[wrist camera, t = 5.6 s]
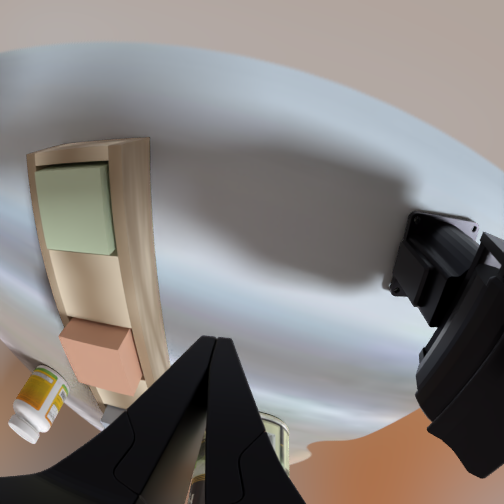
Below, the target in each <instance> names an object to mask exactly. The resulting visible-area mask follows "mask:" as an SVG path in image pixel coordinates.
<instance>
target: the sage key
mask: <svg viewBox="0 0 504 504" xmlns="http://www.w3.org/2000/svg"><path fill="white" fill-rule="evenodd" d="M35 181H36V189H37V196H38V203H39V210H40V216H41V221H42V227H43V232H44V237H45V242H46V246H47V249H53V250H62V251H72V252H82V253H92V254H103V255H110V254H111V253H112V252H113V251H114V250H115V249H116V248H117V246H116V239H115V231H114V222H113V213H112V203H111V192H110V178H109V160H106V161H88V162H73V163H61V164H55V165H52V166H50V167H47V168H44V169H42V170H39V171H37V172H35Z"/></svg>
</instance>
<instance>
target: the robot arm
mask: <svg viewBox="0 0 504 504" xmlns="http://www.w3.org/2000/svg"><path fill="white" fill-rule="evenodd" d="M415 217H418V219H417V221H416V222H414V219H415ZM473 226H474V228H473ZM472 228H473V230H472ZM478 230H479V225H478V224H477V223H476V222H474V221H471V220H465V219H460V218H454V217H448V216H442V215H436V214H430V213H424V212H418V211H414V212H412V213H411V214H410V215H409V218H408V222H407V226H406V231H405V235H404V239H403V240H402V242H401V243H400V247H399V251H398V255H397V258H396V262H395V265H394V269H393V278H392V282H391V285H390V289H389V290H390V292H391V294H392V295H393V296H403V297H408V298H409V300H410V301H411V303H412V305H413V306H414V307H418V308H419V310H420V312H421V313H422V315H423V316H424V318H425V320H426V321H427V323H428V325H429V326H430V327H438V328H437V330H436V331H435V333H434V334H433V336H432V338H431V339H430V341H429V342H428V344H427V346H426V347H424V348H423V349H422V351H421V352H420V354H419V363H420V364H419V366H418V370H417V373H416V381H417V389H418V391H417V392H416V394H415V397H416V399H417V401H418V403H419V406H420V408H421V409H422V411H423V412H424V414H425V415H426V416H427V418H428V419H429V420H430V421H431V422H432V423H431V424H430V425H429V426H428V427H427V431H428V432H429V433H431V434H433V435H434V436H436V437H438V438H440V439H441V440H443V442H445V443H446V444H447V445H448V446H449V447H450V448H451V449H452V450H453V451H454V452H455V454H456V455H457V456H458V458H459V459H460V461H461V462H462V464H463V465H464V467H465V468H466V470H467V471H468V472H469V473H471V474H473V475H475V476H477V477H479V478H486V477H487V476H489V475H490V474H491V473H493V472H494V471H495V470H497V469H498V468H499V467H500V466H502V465H503V464H504V240H502V239H500V238H498V237H495V236H493V235H491V234H488V233H486V232H483V234H482V236H481V239H480V241H481V243H480V245H479V244H478V243H477V242H476V241H475V240H476V237H477V234H478ZM396 288H398V289H397V290H395V289H396ZM394 290H395V291H394ZM205 428H206V446H205V504H306V503H305V501H304V500H303V498H302V497H301V495H300V494H299V492H298V491H297V489H296V488H295V486H294V485H293V483H292V482H291V480H290V478H289V477H288V475H287V473H286V471H285V470H284V468H283V466H282V464H281V462H280V461H279V459H278V456H277V454H276V452H275V450H274V448H273V446H272V443H271V441H270V438H269V436H268V433H267V432H266V429H265V426H264V424H263V421H262V419H261V416H260V413H259V411H258V408H257V406H256V403H255V400H254V398H253V395H252V392H251V390H250V387H249V384H248V382H247V379H246V376H245V373H244V371H243V368H242V365H241V362H240V360H239V357H238V354H237V351H236V348H235V346H234V343H233V340H232V339H231V338H225V337H218V338H216V337H214V336H206V335H203V336H201V337H200V338H199V339H198V340H197V341H196V342H195V343H194V344H193V345H192V346H191V347H190V348H189V349H188V350H187V351H186V352H185V353H184V354H183V355H182V356H181V357H180V358H179V359H178V360H177V361H176V362H175V363H174V364H173V365H172V366H171V367H170V368H169V369H167V370H166V371H165V372H164V373H163V374H162V375H161V376H160V377H159V378H158V379H157V380H156V381H155V382H154V383H153V384H152V385H151V386H150V387H149V388H148V389H147V390H146V391H145V392H144V393H143V394H142V395H141V396H140V397H139V398H138V399H137V400H136V401H134V402H133V403H132V404H131V405H130V406H129V407H128V408H127V411H124V412H123V413H122V414H121V415H120V416H119V417H118V418H116V419H115V420H114V421H113V422H112V423H111V424H110V425H109V426H107V427H106V428H105V429H104V430H103V431H102V432H101V433H99V434H98V435H96V436H95V437H94V438H92V439H91V440H90V441H89V442H87V443H86V444H84V445H83V446H81V447H80V448H79V449H77V450H76V451H74V452H73V453H72V454H70V455H69V456H67V457H66V458H64V459H63V460H61V461H60V462H58V463H57V464H55V465H54V466H52V467H50V468H48V469H46V470H44V471H41V472H38V473H34V474H29V475H20V476H8V477H0V504H184V503H185V500H186V496H187V493H188V489H189V485H190V482H191V479H192V475H193V471H194V468H195V464H196V461H197V457H198V454H199V450H200V446H201V443H202V439H203V436H204V432H205Z"/></svg>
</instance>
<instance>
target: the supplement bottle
mask: <svg viewBox="0 0 504 504" xmlns="http://www.w3.org/2000/svg"><path fill="white" fill-rule="evenodd" d="M68 393H69V386H68V384H67V382H66V381H65V380H64V379H63V378H62V376H60V375H59V374H58V373H57V372H56V371H54V370H53V369H51V368H49V367H47V366H44V365H39V366H38V367H37V368H36V369H35V370H34V372H33V373H32V375H31V376H30V378H29V379H28V381H27V382H26V384H25V385H24V387H23V388H22V390H21V391H20V393H19V394H18V396H17V398H16V399H15V401H14V403H13V408H14V411H15V413H16V414H15V415H12V417H11V418H10V420H9V422H8V424H9V426H10V427H11V428H12V429H13V430H14V431H15V432H16V433H17V434H18V435H20V436H21V437H22V438H24V439H25V440H27V441H29V442H31V443H33V444H35V443H36V441H37V440H38V438H39V432H47V431H48V430H49V429H50V427H51V425H52V423H53V421H54V419H55V417H56V415H57V414H58V412H59V410H60V408H61V406H62V404H63V403H64V401H65V399H66V397H67V395H68Z"/></svg>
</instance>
